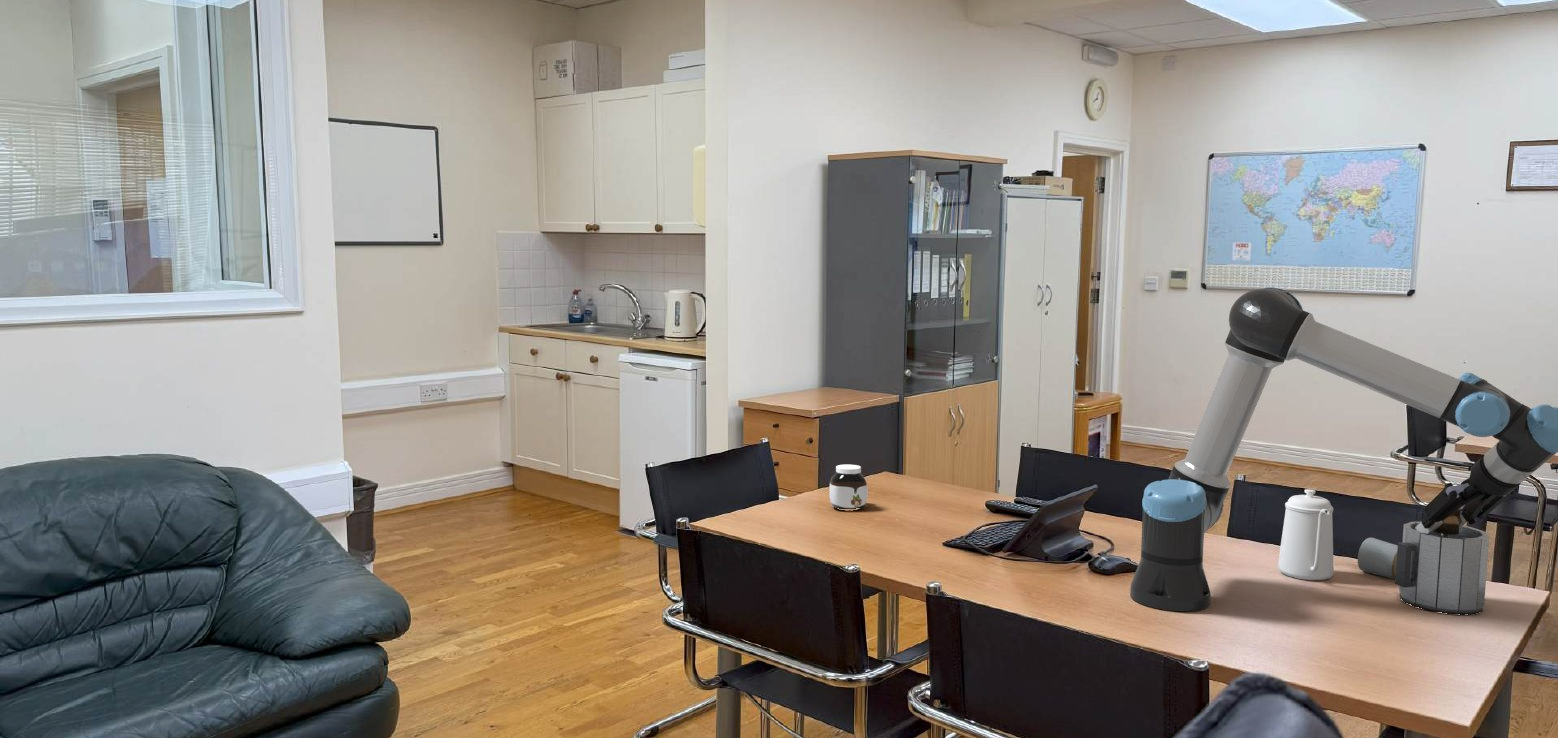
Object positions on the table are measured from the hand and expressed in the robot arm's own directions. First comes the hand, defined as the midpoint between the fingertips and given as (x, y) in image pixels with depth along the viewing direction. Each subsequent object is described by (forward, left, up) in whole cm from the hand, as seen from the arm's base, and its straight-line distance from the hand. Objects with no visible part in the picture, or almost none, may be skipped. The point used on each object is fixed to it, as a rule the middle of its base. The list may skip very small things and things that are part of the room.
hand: (1431, 533), depth 213 cm
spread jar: (-102, +90, -14) cm, 137 cm away
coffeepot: (-15, +17, -14) cm, 27 cm away
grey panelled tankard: (-1, -4, -13) cm, 14 cm away
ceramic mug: (+3, +16, -14) cm, 21 cm away
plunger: (0, -4, -9) cm, 9 cm away
